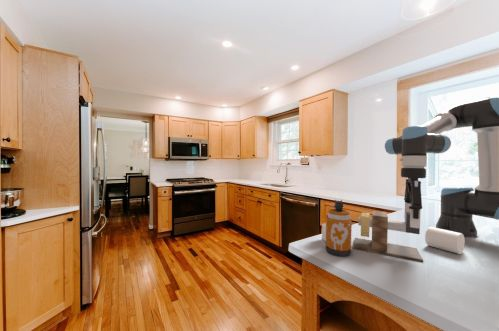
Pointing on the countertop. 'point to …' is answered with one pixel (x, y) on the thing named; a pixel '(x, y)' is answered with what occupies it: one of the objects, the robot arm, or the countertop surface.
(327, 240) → the canister
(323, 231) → the medicine bottle
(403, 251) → the bracket
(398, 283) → the countertop surface
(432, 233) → the white rounded block
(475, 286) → the countertop surface
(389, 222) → the shaft
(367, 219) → the block
